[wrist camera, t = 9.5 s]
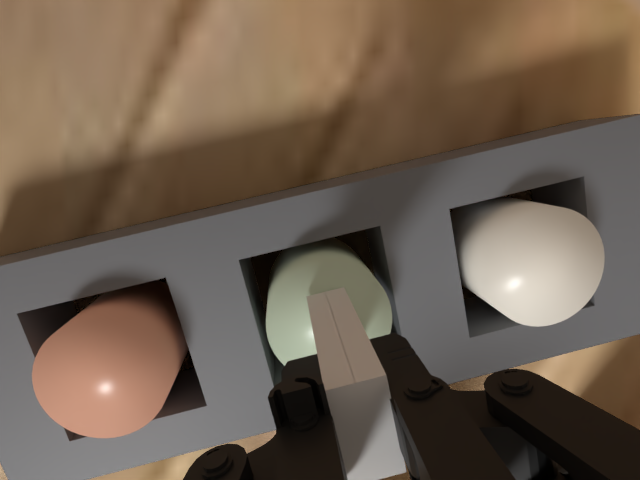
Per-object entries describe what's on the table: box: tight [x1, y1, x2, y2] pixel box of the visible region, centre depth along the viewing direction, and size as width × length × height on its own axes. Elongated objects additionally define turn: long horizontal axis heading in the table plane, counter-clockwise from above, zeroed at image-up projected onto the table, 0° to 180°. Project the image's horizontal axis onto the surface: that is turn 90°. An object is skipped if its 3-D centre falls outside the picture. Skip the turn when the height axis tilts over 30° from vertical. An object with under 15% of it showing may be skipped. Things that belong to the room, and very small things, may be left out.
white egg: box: [450, 196, 605, 327], centre depth 19 cm, size 5×5×5 cm
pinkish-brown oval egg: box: [32, 280, 189, 438], centre depth 19 cm, size 5×5×5 cm
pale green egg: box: [266, 237, 392, 366], centre depth 19 cm, size 5×5×5 cm
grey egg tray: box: [0, 114, 640, 480], centre depth 20 cm, size 30×10×4 cm, turn 103°
